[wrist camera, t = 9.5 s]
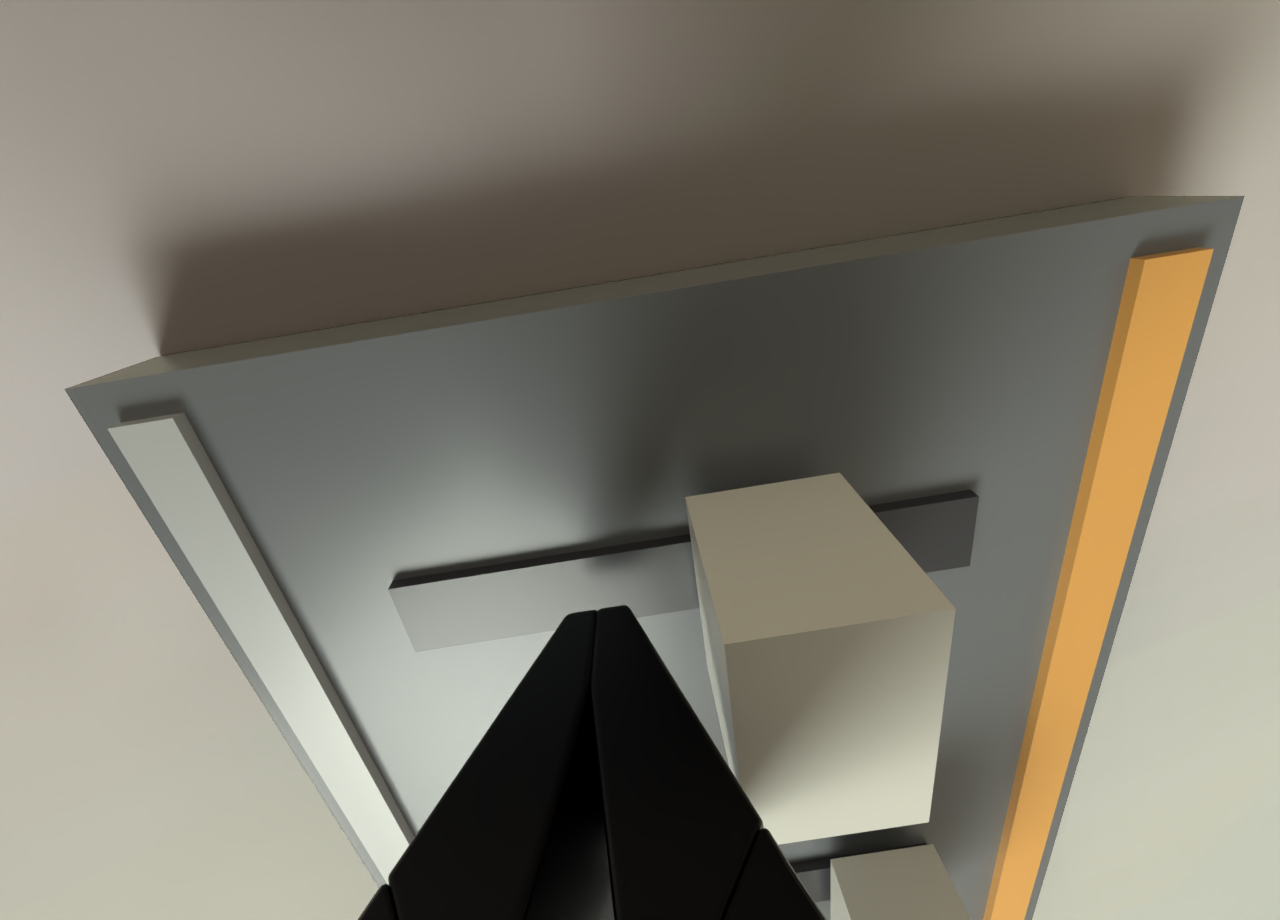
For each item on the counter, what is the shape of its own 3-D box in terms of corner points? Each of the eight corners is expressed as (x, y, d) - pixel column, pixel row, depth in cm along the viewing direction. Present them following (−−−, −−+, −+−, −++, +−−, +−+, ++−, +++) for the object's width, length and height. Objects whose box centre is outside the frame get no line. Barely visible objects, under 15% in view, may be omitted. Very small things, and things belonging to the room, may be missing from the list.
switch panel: (544, 1074, 19) (539, 1153, 17) (157, 356, 8) (49, 394, 6) (956, 1015, 18) (988, 1089, 17) (1132, 197, 8) (1262, 196, 6)
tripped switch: (707, 667, 8) (747, 848, 6) (685, 497, 7) (723, 643, 5) (838, 647, 8) (929, 822, 6) (840, 472, 7) (956, 608, 5)
